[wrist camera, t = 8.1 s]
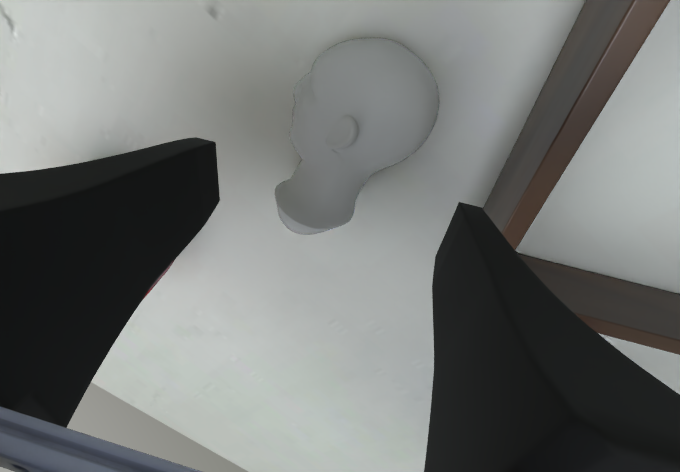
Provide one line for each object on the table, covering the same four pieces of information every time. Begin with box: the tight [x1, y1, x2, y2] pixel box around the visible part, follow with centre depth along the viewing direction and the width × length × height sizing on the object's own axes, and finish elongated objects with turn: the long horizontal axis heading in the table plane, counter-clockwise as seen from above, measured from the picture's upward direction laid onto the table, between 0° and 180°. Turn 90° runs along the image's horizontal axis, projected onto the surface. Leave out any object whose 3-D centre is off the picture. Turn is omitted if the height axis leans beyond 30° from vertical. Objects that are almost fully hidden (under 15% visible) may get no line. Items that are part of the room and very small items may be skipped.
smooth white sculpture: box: [275, 38, 439, 235], centre depth 14 cm, size 4×8×5 cm
